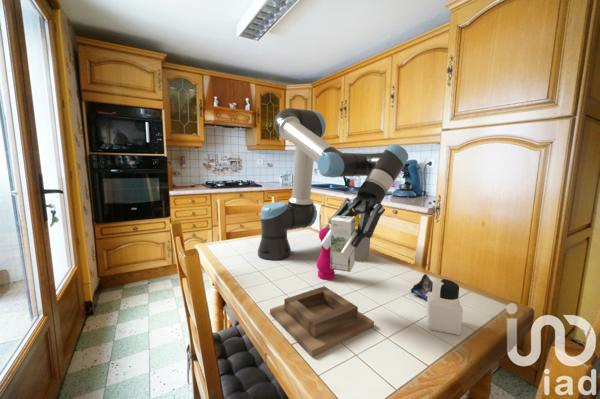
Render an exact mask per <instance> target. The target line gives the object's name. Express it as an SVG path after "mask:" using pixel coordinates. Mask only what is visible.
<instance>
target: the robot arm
mask: <svg viewBox="0 0 600 399" xmlns="http://www.w3.org/2000/svg"><path fill="white" fill-rule="evenodd" d="M273 126H274V130H275V132H276V134H277V135H278V136H279V137H281V138H282V140H286V141H289V142H291V143H292V144H293V145H295V150H294V164H293V165H294V167H293V178H292V179H293V180H292V190H291V192H292V193H291V197H290V198H288V201H287V202H288V203H286V202H283V201H282V202H281V201H279V202H270V203H267V204H264V205H263V206H262V208H261V210H260V225H261V226H260V227H261V228H260V230H261V239H260V242H259V245H258V249H257V256H258V257H259V258H260V259H263V260H267V261H269V260H270V261H275V260H278V261H279V260H283V259H284V260H285V259H287V258H289V257H290V256H291V255H292V249H291V246H290V242H289V239H288V231H291V230H292V231H293V230H299V229H305V228H309V227H311V226H312V225H314V224H315V222H316V220H317V217H318V210H317V206H316V205H315V204H314V201H313V199H312V198H311V194H312V193H311V191H312V184H313V183H312V180H313V170H314V162H315V163H316V164H317V169H318V171H319V172H318V173H319V174H320V175H321V176H323V177H325V178H333V179H334V178H341V177H364V176H365V177H366V178H365V179H364V182H363V183H362V184H361V185H360V187H359V188H358V190H357V195H356V197H354V198H353V199H349V197H347V198H345V199H344V202H343V203H342V204H341V206H340V207H339V208H338V209H337V211H335V212H334V214H333V215H332V216H331V218H330V219H329V220H328V223H329V225H331V219H332V218H333V217H334V216H348V217H354V216H356V215H358V214H359V218H360V220H359V225H358V229H357V231H356V232H357V234H356V233H355V232H353V234H352V236H351V237H350V239H349V240H348V242H347V243H346V245H345V246H344V248H343V249H342V251H341V253H342V254H343V255H344V256H345V257H346V258H349V256H350V254H351V253H352V251H353V250H354V248H355V247H357V246H358V245H359V243H360V242H361V240H362V239H363V238H365V237H368V238H370V239H371V238H372V236H373V234H374V232H375V230H376V227H377V225H378V223H379V221H380V220H381V219H380V218H381V216H382V215H383V214H384V212H385V211H386V209H385V207H384V206H383V204H382V202H383V200H384V199H385V197H386V195H387V193H388V192H389V190H390V189H391V187H392V186H393V184H394V182H395V181H396V180H397V178H398V176H400V173H402V170H403V169H404V168H405V165H406V163H407V162H408V160H409V154H408V152H407V150H406V149H405V148H404V147H402V146H401V145H399V144H390V145H388V147H387V146H386V148H385V149H384V151H383V152H373V153H372V152H371V153H370V152H369V153H368V152H367V153H364V152H363V153H361V152H360V153H358V152H342V151H340V150H338V149H337V148H336V147H334V146H333V145H332V144H330V143H328V142H327V141H325V139H323V137H324V135H325V133H326V120H325V118H324V116H323V115H322V113H321V112H319V111H315V110H311V109H310V110H309V109H301V108H293V107H286V108H284V109H281V110H280V111H279V112H278V113H277V115H276V116H275V118H274V122H273ZM353 210H354V211H355V212H354V211H353ZM329 228H330V229H329V230H328V232H327V233H326V236H325V238H324V239H323V241H322V242H321V245H322V246H323V247H324V248H325V249H328V248H329V246H330V245H331V226H330V227H329ZM321 245H320V246H321Z"/></svg>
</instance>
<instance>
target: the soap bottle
mask: <svg viewBox="0 0 600 399" xmlns="http://www.w3.org/2000/svg"><path fill="white" fill-rule="evenodd" d="M352 210H353V209H352ZM353 211H354V210H353ZM354 212H355V211H354ZM353 217H355V233H356V234H357V232H356V231H357V229H358V225H359V220H360V214H358V215H356V216H353ZM370 245H371V238H368V237H365V238H363V239H362V240H361V242H360V243H359V245H358V246H357V247H355V248H354V262H364V260H365V261H367V260H368V259H369V255H370Z"/></svg>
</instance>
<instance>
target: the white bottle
mask: <svg viewBox="0 0 600 399" xmlns="http://www.w3.org/2000/svg"><path fill="white" fill-rule="evenodd" d="M432 282H433V287H432V292H428V293H427V296H428V298H427V301H426V312H425V313H426V319H427V320H426V321H427V325H428V329H429V330H431V331H435V332H441V333H447V334H451V335H457V336H460V335H461V333H462V323H463V321H462V320H463V312H464V309H463V306H462V304H461V302H460V300H459V296H460V286H459V284H458V283H457V282H455V281H452V280H450V279H446V278H437V279H434V280H432Z"/></svg>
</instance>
